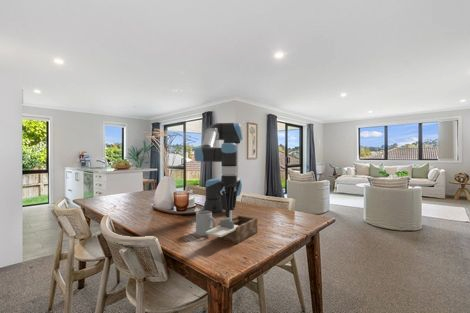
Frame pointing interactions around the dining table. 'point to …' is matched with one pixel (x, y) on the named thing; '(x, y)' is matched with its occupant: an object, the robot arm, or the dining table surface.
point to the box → (241, 229)
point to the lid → (223, 228)
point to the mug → (204, 222)
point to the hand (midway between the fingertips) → (228, 223)
